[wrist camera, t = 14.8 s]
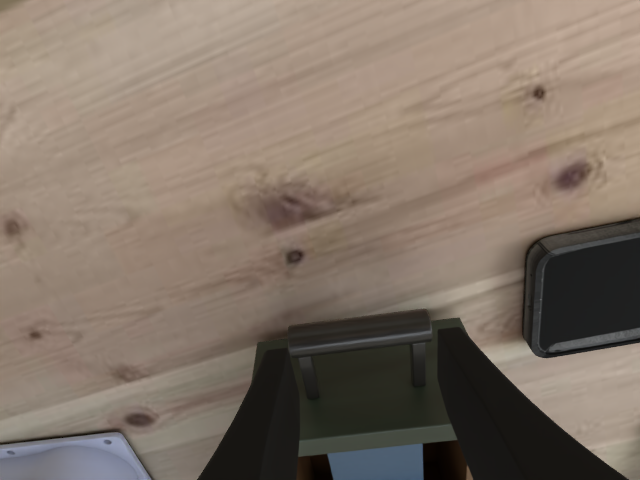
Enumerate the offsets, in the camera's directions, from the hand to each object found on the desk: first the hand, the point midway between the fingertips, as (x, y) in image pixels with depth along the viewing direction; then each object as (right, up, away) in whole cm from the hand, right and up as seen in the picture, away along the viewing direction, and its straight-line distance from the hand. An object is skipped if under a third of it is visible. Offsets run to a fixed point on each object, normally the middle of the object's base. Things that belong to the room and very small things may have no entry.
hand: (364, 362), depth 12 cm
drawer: (+1, -5, +13) cm, 14 cm away
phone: (+17, +2, +10) cm, 20 cm away
